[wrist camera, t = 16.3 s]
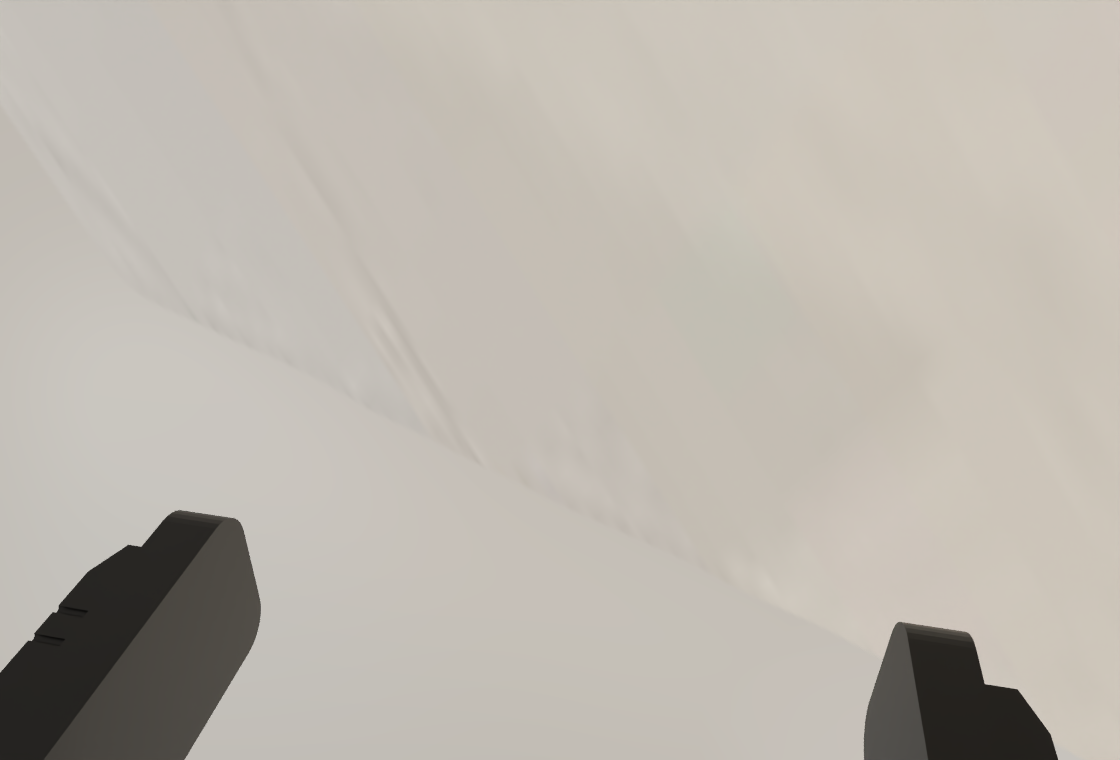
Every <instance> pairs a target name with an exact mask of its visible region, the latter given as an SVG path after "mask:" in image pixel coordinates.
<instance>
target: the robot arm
mask: <svg viewBox="0 0 1120 760" xmlns="http://www.w3.org/2000/svg"><path fill="white" fill-rule="evenodd" d="M260 614H261V604H260V598H259V594H258V589H257V585H256V581H255V577H254V573H253V568H252V564H251V560H250V556H249V552H248V547H247V543H246V539H245V535H244V531H243V528H242V526H241V524H240V522H239V521H238V520H236V519H234V518H228V517H221V516H215V515H208V514H201V513H195V512H188V511H181V510H179V511H175V512H173V513H171V514H170V515H168V516H167V517H166V518H165V519H164V520H163V521H162V523H161V524H160V525H159V526H158V528H157V529H156V530H155V531H154V532H153V534H152V535H151V536H150V537H149V539H148V540H147V541H146V542H145V543H144V544H143V546H142V547H138V546H132V545H128V546H126V547H125V548H123V549H122V550H120V551H119V552H117V553H116V554H114V555H113V556H111V557H110V558H108V559H107V560H105V561H103V562H102V563H101V564H99V565H98V566H96V567H94V568H93V569H91V570H90V571H89V572H87V574H86V575H85V576H84V577H83V578H82V579H81V581H80V582H79V583H78V584H77V585H76V586H75V587H74V589H73V590H72V591H71V592H70V593H69V594H68V595H67V597H66V598H65V599H64V600H63V601H62V602H61V603H60V605H59V609H58V611H57V613H54V612H53V613H52V614H51V615H50V616H49V617H48V618H47V620H46V621H45V622H44V623H43V624H42V625H41V626H40V628H39V629H38V630H37V631H36V632H35V633H34V634H35V637H34V639H33V640H32V641H28V642H27V643H26V644H25V645H24V646H23V647H22V648H21V650H20V651H19V652H18V653H17V654H16V655H15V656H14V657H13V659H12V660H11V661H10V662H9V663H8V664H7V666H6V667H5V668H4V669H3V670H2V671H1V673H0V760H184V759H185V758H186V756H187V754H188V753H189V751H190V749H191V748H192V746H193V744H194V743H195V741H196V739H197V738H198V736H199V734H200V733H201V731H202V729H203V728H204V726H205V724H206V723H207V721H208V719H209V718H210V716H211V715H212V713H213V711H214V710H215V708H216V706H217V705H218V703H219V701H220V700H221V698H222V696H223V695H224V693H225V691H226V690H227V688H228V686H229V685H230V683H231V681H232V680H233V678H234V676H235V674H236V673H237V671H238V670H239V668H240V666H241V665H242V663H243V661H244V660H245V658H246V656H247V655H248V653H249V651H250V649H251V647H252V645H253V643H254V640H255V638H256V635H257V631H258V627H259V622H260ZM864 760H1058V758H1057V754H1056V751H1055V748H1054V744H1053V741H1052V738H1051V734H1050V733H1049V732H1048V730H1047V729H1046V727H1045V726H1044V725H1043V723H1042V722H1041V721H1040V719H1039V718H1038V717H1037V715H1036V714H1035V713H1034V711H1033V710H1032V708H1031V707H1030V706H1029V704H1028V703H1027V702H1026V700H1025V699H1024V698H1023V696H1022V695H1021V693H1020V692H1019V691H1018V689H1011V688H1005V687H999V686H993V685H986V684H984V680H983V676H982V671H981V667H980V663H979V659H978V655H977V651H976V647H975V644H974V641H973V639H972V637H971V636H970V634H969V633H967V632H962V631H956V630H949V629H943V628H936V627H929V626H923V625H916V624H910V623H903V622H898V623H897V624H896V625H895V627H894V629H893V631H892V634H891V637H890V640H889V643H888V646H887V649H886V653H885V656H884V659H883V662H882V665H881V668H880V671H879V674H878V677H877V680H876V683H875V686H874V689H873V692H872V696H871V699H870V702H869V705H868V710H867V715H866V721H865V733H864Z"/></svg>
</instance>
